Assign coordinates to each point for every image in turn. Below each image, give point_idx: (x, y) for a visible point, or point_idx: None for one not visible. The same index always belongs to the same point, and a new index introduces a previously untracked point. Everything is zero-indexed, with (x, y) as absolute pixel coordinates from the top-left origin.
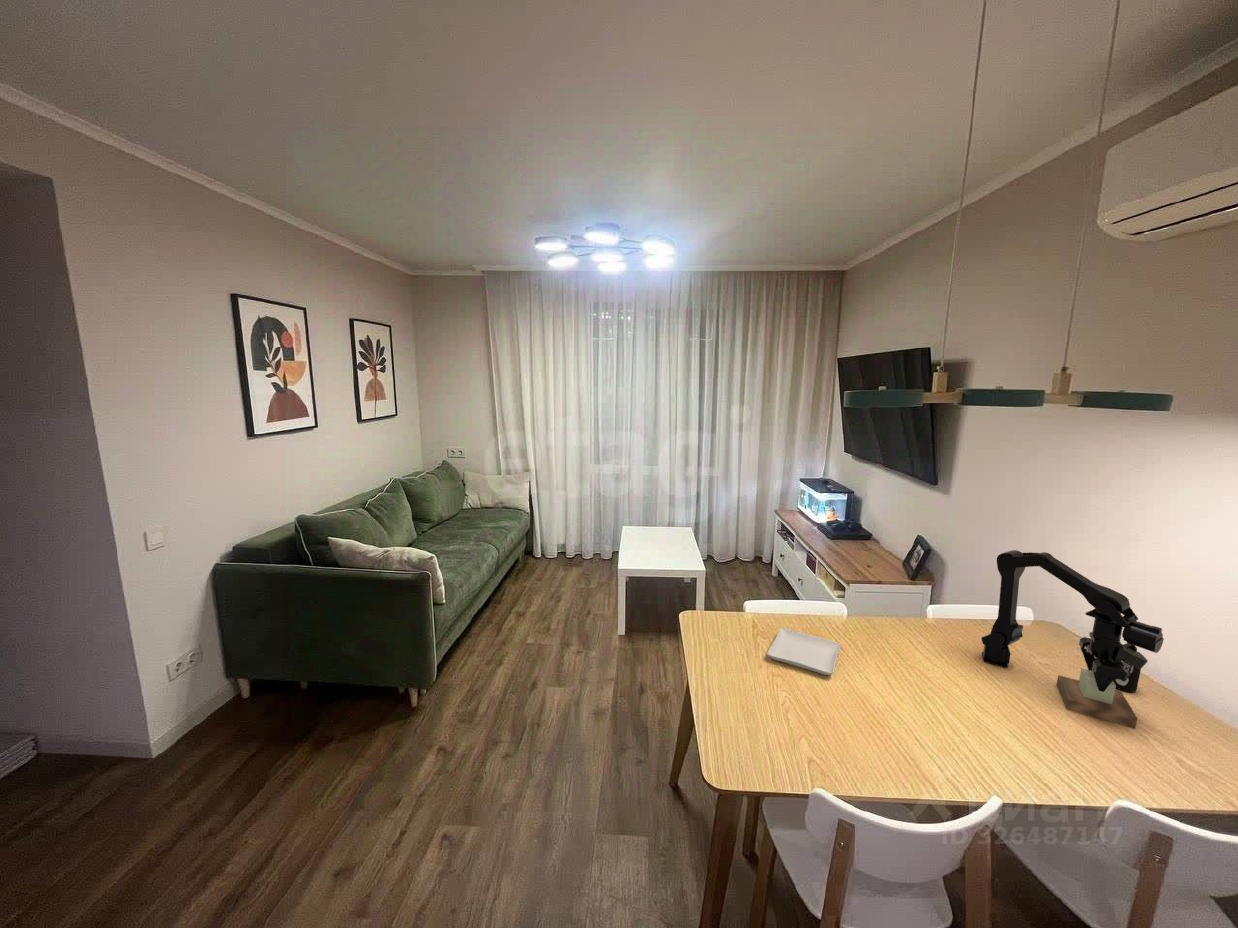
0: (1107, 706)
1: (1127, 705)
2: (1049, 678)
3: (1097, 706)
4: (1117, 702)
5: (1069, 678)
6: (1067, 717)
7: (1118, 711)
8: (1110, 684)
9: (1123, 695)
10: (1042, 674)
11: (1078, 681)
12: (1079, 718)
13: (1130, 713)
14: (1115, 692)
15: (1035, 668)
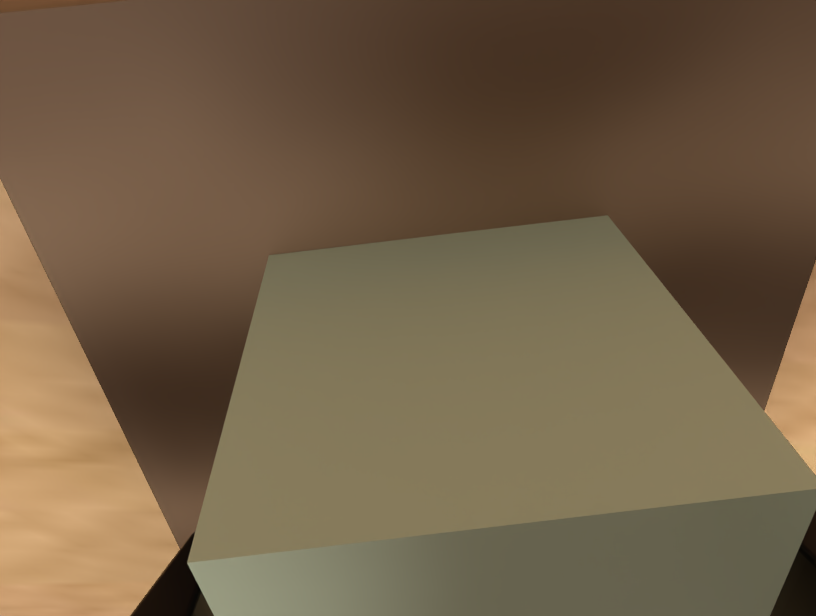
0: (705, 270)
1: (511, 3)
2: (141, 525)
3: (758, 360)
4: (493, 139)
5: (185, 530)
6: (801, 445)
7: (801, 167)
8: (785, 547)
9: (111, 3)
10: (109, 557)
11: (182, 473)
12: (782, 384)
13: (801, 7)
14: (102, 117)
15: (34, 589)
